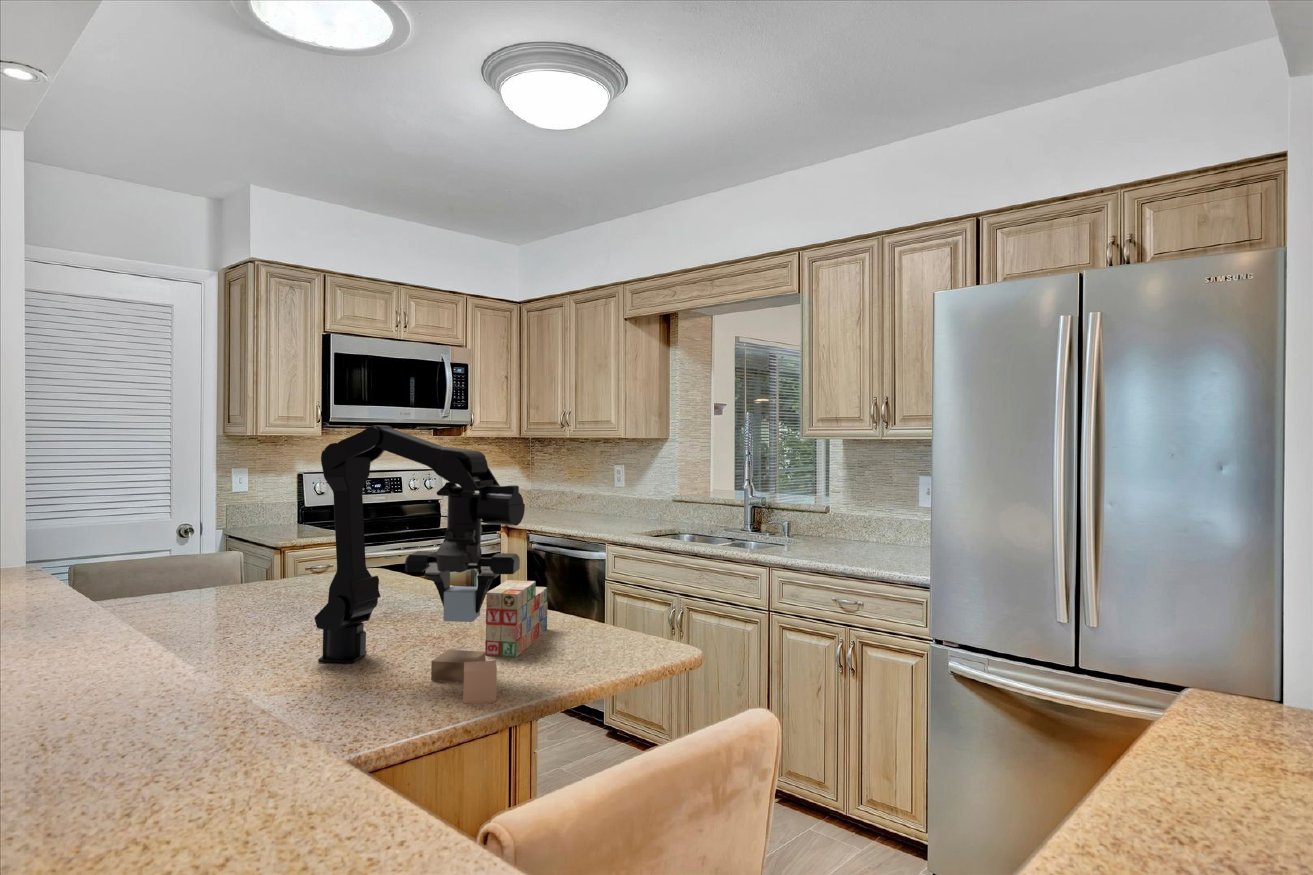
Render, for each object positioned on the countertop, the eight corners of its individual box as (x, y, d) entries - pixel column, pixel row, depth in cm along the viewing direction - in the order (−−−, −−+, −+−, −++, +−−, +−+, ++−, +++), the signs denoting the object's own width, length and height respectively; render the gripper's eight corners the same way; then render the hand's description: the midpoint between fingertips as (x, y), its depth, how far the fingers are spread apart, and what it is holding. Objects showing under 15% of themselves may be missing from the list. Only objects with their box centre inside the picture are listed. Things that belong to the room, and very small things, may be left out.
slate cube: (452, 614, 133) (452, 586, 133) (480, 615, 133) (480, 586, 133) (443, 621, 128) (444, 591, 128) (472, 621, 128) (473, 592, 128)
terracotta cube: (463, 703, 117) (463, 671, 117) (463, 692, 122) (464, 662, 122) (496, 701, 118) (496, 669, 118) (495, 691, 123) (495, 660, 123)
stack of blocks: (519, 628, 164) (520, 571, 164) (547, 629, 163) (548, 573, 163) (484, 656, 142) (486, 591, 142) (516, 658, 141) (518, 592, 142)
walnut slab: (431, 681, 127) (431, 660, 127) (447, 668, 134) (447, 649, 134) (470, 684, 127) (471, 663, 127) (485, 671, 134) (485, 651, 134)
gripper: (393, 526, 123) (391, 621, 123) (507, 529, 123) (505, 625, 123) (417, 519, 134) (415, 606, 134) (521, 521, 134) (519, 609, 134)
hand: (462, 611), depth 131 cm, fingers closed on slate cube, 5 cm apart
